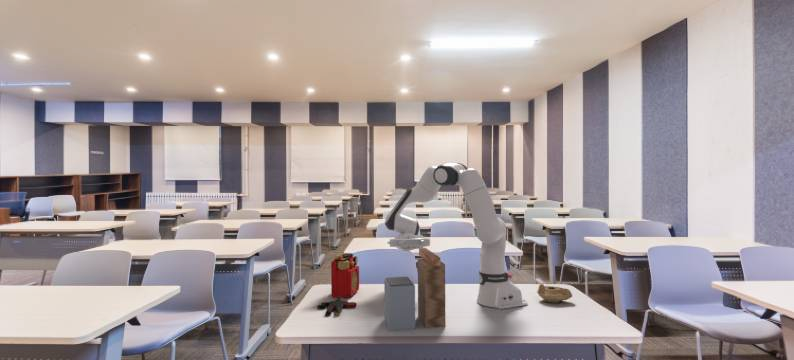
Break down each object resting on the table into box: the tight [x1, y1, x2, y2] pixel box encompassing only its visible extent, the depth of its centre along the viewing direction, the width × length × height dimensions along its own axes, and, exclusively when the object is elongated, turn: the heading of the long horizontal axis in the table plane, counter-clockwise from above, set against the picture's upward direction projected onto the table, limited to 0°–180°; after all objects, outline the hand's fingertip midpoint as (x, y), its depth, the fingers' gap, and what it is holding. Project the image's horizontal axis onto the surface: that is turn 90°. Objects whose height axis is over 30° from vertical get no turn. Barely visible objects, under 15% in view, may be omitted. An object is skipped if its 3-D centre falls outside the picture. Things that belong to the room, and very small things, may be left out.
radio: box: [330, 253, 360, 299], centre depth 187 cm, size 16×10×20 cm, turn 168°
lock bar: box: [418, 247, 441, 266], centre depth 152 cm, size 3×22×3 cm, turn 10°
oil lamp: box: [536, 283, 573, 304], centre depth 173 cm, size 11×15×8 cm
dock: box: [383, 276, 416, 332], centre depth 147 cm, size 10×12×17 cm
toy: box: [316, 297, 357, 317], centre depth 164 cm, size 15×16×3 cm
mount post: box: [417, 258, 447, 329], centre depth 149 cm, size 8×12×24 cm, turn 10°
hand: (413, 242), depth 178 cm, fingers open, 8 cm apart
